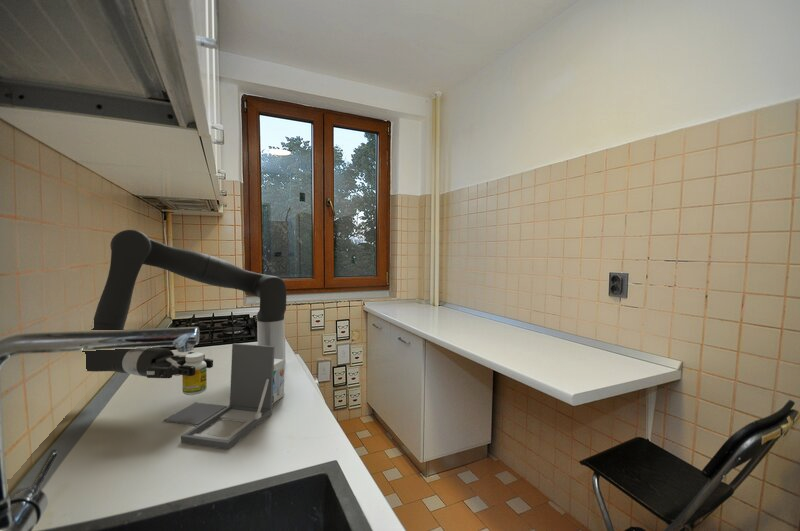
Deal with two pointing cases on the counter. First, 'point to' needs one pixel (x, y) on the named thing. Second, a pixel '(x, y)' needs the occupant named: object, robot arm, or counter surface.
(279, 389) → the light bulb box
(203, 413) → the pad
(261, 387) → the case
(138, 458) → the counter surface
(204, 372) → the supplement bottle
